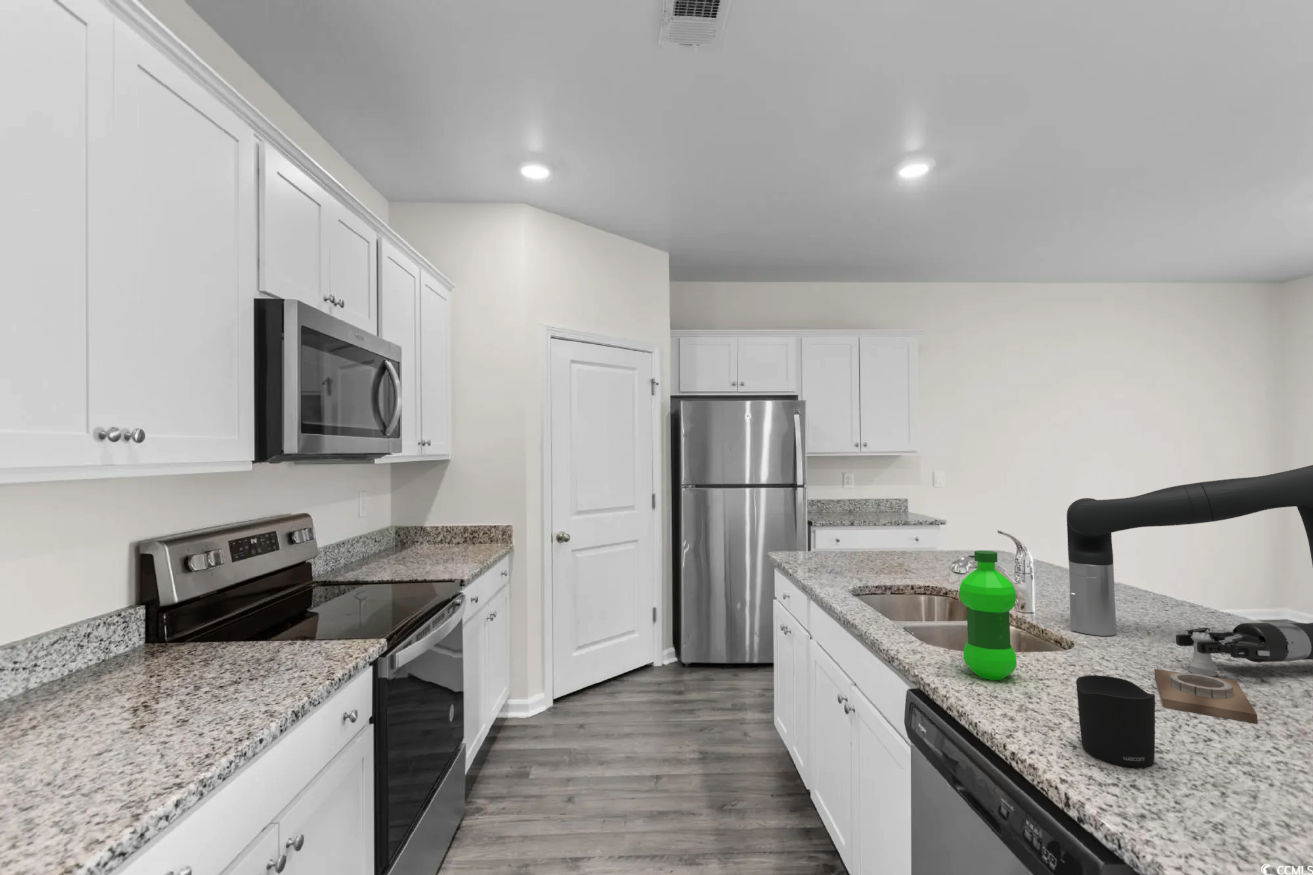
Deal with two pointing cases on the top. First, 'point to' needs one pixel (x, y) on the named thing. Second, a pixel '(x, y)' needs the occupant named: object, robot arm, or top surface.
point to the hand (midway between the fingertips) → (1188, 643)
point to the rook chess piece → (1202, 658)
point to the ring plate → (1204, 695)
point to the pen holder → (1116, 720)
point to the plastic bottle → (988, 619)
